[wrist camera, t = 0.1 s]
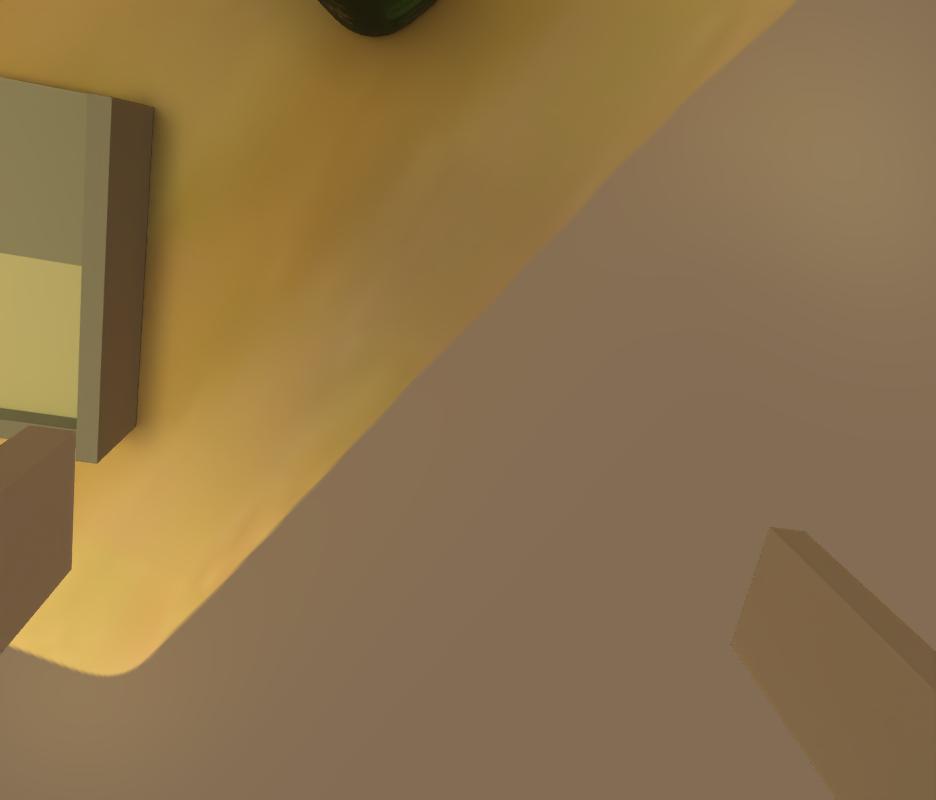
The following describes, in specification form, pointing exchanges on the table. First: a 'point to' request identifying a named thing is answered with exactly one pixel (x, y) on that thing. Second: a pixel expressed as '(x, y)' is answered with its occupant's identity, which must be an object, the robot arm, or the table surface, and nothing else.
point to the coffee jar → (376, 14)
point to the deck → (72, 261)
